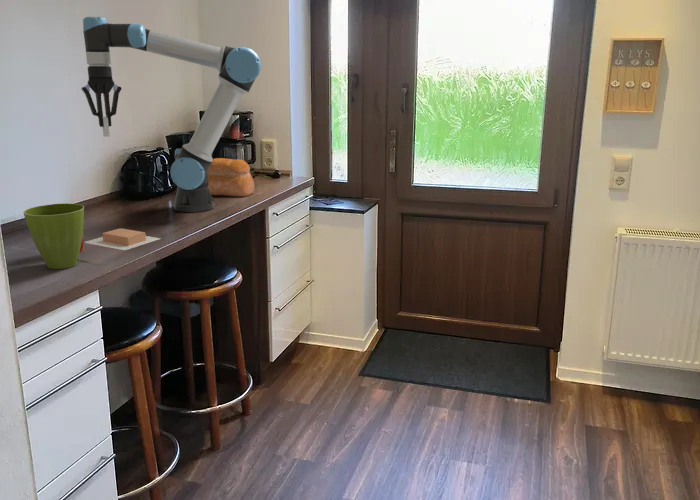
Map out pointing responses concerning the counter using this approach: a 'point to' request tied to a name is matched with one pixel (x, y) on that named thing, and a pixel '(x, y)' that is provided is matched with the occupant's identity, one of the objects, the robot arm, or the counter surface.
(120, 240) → the card box
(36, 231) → the flower pot
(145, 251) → the counter surface
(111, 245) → the mat
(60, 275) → the counter surface
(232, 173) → the bread
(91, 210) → the counter surface
